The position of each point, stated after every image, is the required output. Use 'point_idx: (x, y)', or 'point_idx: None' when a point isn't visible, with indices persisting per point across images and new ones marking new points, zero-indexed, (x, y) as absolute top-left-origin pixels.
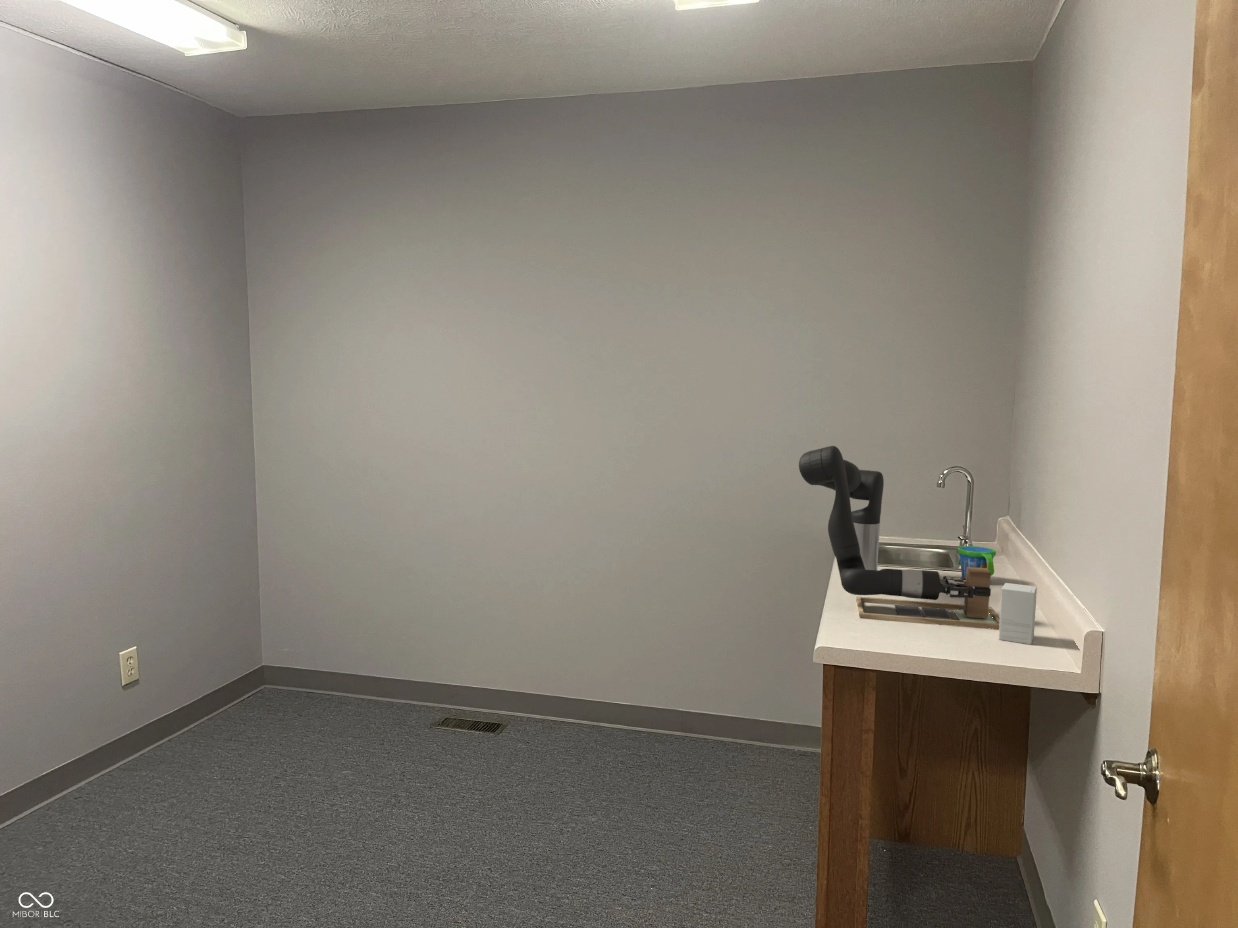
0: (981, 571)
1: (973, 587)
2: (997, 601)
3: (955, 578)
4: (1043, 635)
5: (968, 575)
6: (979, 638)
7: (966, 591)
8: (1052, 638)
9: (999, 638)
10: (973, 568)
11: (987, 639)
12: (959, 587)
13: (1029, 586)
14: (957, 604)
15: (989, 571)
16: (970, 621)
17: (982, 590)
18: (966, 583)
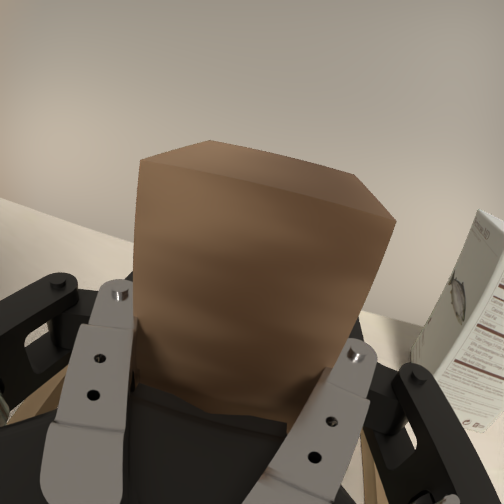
0: (349, 183)
1: (375, 357)
2: (22, 256)
3: (73, 370)
4: (379, 325)
5: (290, 271)
6: (500, 481)
7: (202, 396)
8: (395, 320)
9: (485, 430)
10: (220, 162)
11: (497, 461)
12: (460, 465)
13: (500, 220)
14: (27, 409)
15: (317, 165)
16: (380, 496)
17: (357, 326)
18: (181, 341)
